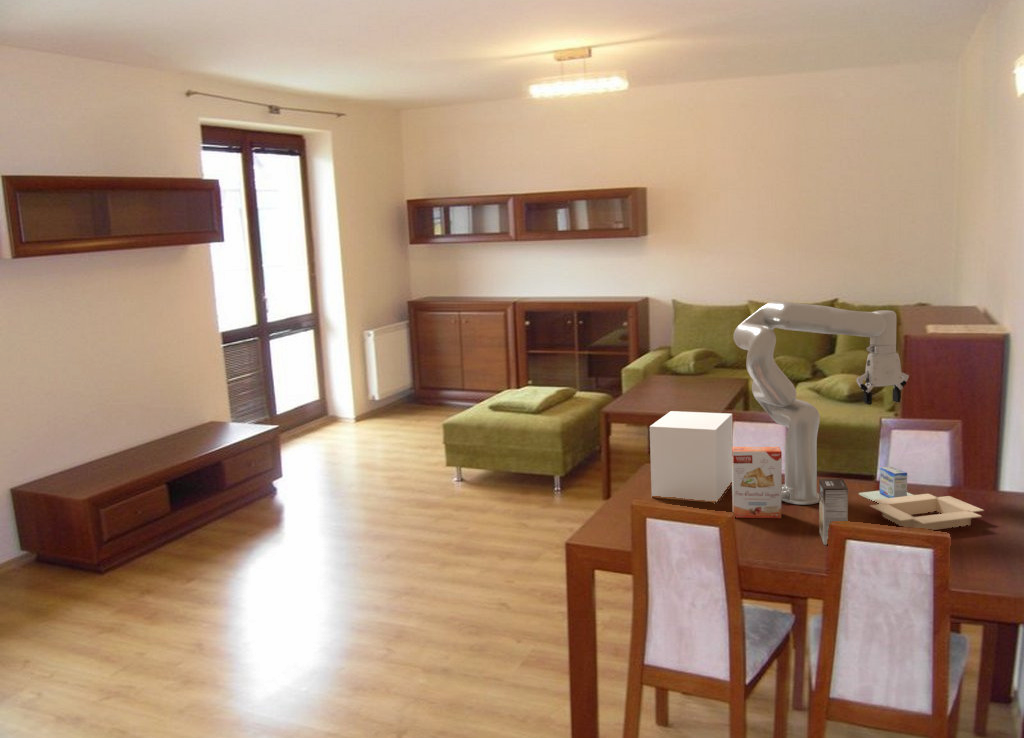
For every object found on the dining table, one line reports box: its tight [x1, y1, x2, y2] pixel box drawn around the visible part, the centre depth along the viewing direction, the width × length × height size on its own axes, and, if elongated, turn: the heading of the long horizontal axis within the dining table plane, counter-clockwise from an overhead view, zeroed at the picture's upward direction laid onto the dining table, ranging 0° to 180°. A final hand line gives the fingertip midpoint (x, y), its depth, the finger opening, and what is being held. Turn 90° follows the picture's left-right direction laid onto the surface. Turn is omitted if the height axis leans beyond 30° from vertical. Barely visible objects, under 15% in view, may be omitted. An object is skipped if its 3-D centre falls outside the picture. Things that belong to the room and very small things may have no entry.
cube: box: [649, 410, 734, 502], centre depth 280 cm, size 25×21×24 cm
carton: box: [869, 493, 985, 531], centre depth 240 cm, size 26×22×4 cm
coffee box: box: [818, 478, 849, 546], centre depth 229 cm, size 9×6×16 cm
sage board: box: [858, 489, 914, 504], centre depth 262 cm, size 14×14×1 cm
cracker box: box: [731, 446, 783, 519], centre depth 251 cm, size 14×6×21 cm, turn 80°
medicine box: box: [879, 466, 908, 498], centre depth 261 cm, size 8×4×9 cm, turn 9°
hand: (882, 402), depth 268 cm, fingers open, 9 cm apart
